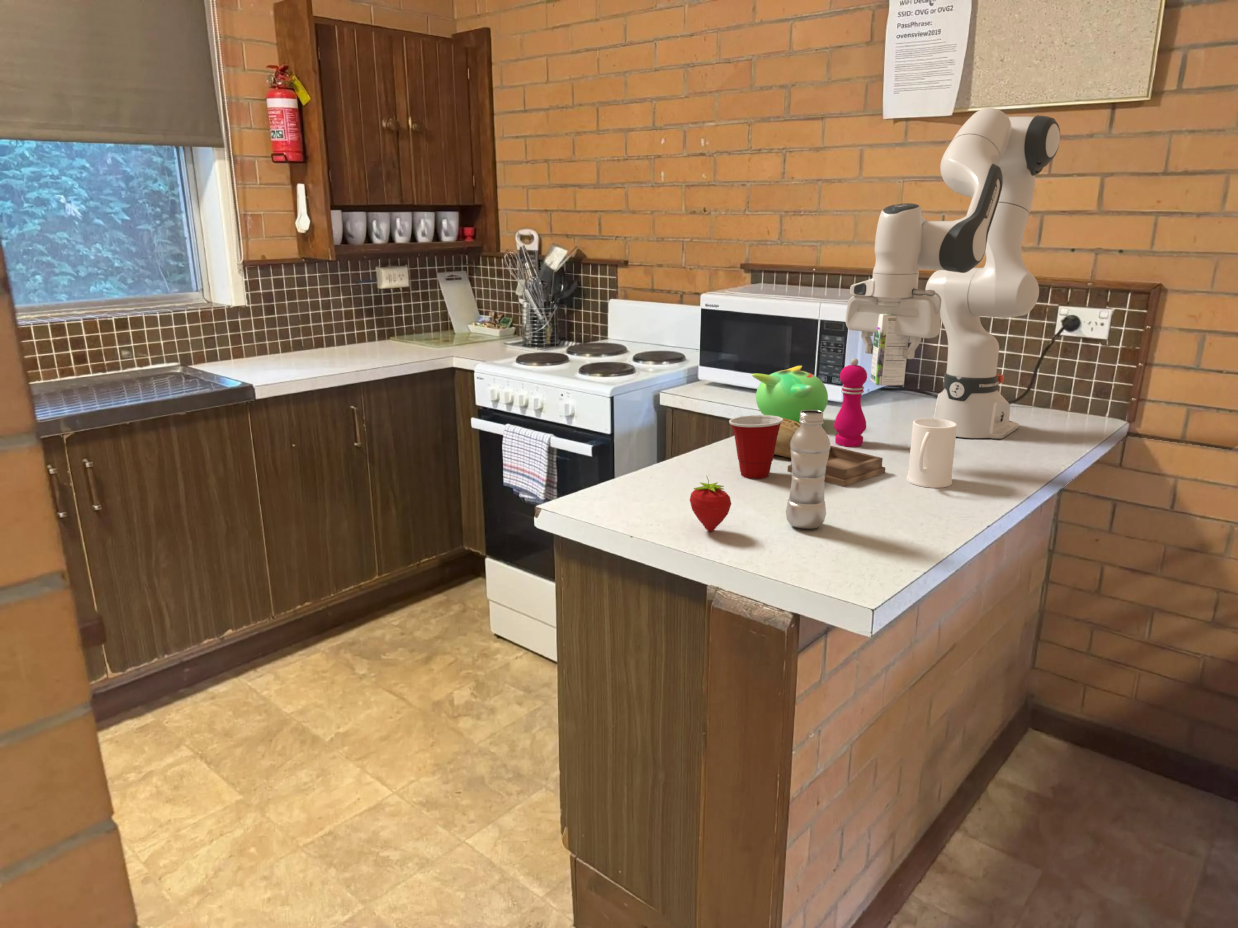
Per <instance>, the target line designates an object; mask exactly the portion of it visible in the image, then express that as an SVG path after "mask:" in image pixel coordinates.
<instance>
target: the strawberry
mask: <svg viewBox="0 0 1238 928" xmlns="http://www.w3.org/2000/svg"><path fill="white" fill-rule="evenodd" d="M706 479H707V483H706V482H699V484H701V485H702V486H697V487H694V488H693V491H692V492H691V493H690V498H689V502H690V506H691V511H692V512H693V513H694V515H695V517H696V518H697V519H698V520H697V521H699V522H700V523H701V524H702V526H703V527H704V529H705V530H706V531H708V532H714V531H715V530H716V529H717V528H718V527H719V525H721V524H722V522H723V521H724V520H725V518H727V516H728V515H729V513H730V508H731V507H732V501H731V497H730V495H729V494H728V493H727V492H726V491H725V488H723V487H725V485H720V484H718V482H717V481H716V482H713V483H710V480H709V478H708V475H706Z"/></svg>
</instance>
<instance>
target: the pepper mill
mask: <svg viewBox="0 0 1238 928" xmlns="http://www.w3.org/2000/svg"><path fill="white" fill-rule="evenodd" d="M849 363H850V364H849V365H846V366H844V367H843V368H842V370H841V371H840V374H839V380H840V382H841V383H842V386H841V393H842V404H841V407H840V409H839V411H838V413H837V414H836V416H835V420H834V424H833V428H834V430H835V432H837V434H836V435H835V438H834V439H835V440H834V443H835V444H836V445H838V446H841V447H848V448H854V447H855V448H856V447H860V446H863V444H864V436H863V433H865V431H866V430H867V421H866V419H867V418H866V417H865V414H864V411H863V409H862V404H861V403H862V394H864V393H865V391H864V390H865V386H864V384H865V383H866V382H867V380H868V372H867V370H866V369H865V368H864V367H863V366H862V365H859V359H858V358H857V357H853V358H852V359H850V362H849Z"/></svg>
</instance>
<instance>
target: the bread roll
mask: <svg viewBox="0 0 1238 928" xmlns="http://www.w3.org/2000/svg"><path fill="white" fill-rule="evenodd" d="M800 426H801V424H799V423H798V422H796V421H793V420H789V419H783V421H782V423H781V425H780V428H779V432H778V436H777V441H776V446H775V451H774V456H775V455H776V456H781V457H785V458H789V459H791V448H790V442H791V439H792V437H793V435H794V434H795V432H796V431H797V430H798V429H799V427H800Z"/></svg>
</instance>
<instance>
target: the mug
mask: <svg viewBox="0 0 1238 928" xmlns="http://www.w3.org/2000/svg"><path fill="white" fill-rule="evenodd" d="M956 430H957V424H956V423H954V422H952V421H948V420H943V419H934V418H931V417H930V418H917V419H915V420H913V421H912V430H911V441H910V450H909V451H910V452H909V453H910V454H909V463H908V472H907V476H906V481H907V482H908V483H910V484H912V485H914V486H917V487H923V488H930V489H941V488H947V487H951V485H952V484H953V475H952V474H953V468H954V467H953V465H954V458H955V457H954V456H955V448H956V445H955V444H956V439H957V438H956Z"/></svg>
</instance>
